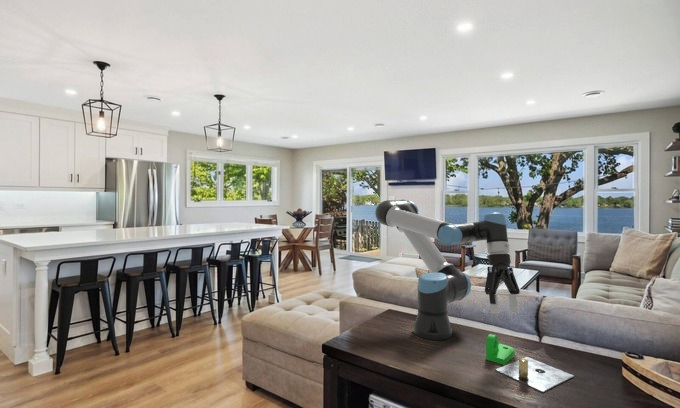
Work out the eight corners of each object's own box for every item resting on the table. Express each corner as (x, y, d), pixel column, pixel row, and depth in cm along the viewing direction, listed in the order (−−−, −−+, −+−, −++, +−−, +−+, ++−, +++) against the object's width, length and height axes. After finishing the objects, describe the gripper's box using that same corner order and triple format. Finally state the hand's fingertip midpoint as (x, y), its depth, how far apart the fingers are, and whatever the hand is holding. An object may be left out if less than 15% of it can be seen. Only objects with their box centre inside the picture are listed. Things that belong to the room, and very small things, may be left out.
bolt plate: (495, 370, 115) (495, 352, 115) (526, 357, 124) (527, 340, 124) (542, 392, 102) (542, 371, 102) (574, 376, 111) (574, 357, 111)
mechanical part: (504, 365, 119) (504, 341, 119) (485, 359, 123) (486, 336, 123) (517, 354, 127) (517, 331, 127) (499, 348, 132) (499, 327, 131)
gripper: (490, 251, 126) (496, 314, 121) (524, 255, 141) (532, 311, 136) (470, 253, 132) (476, 313, 127) (506, 256, 147) (512, 311, 141)
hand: (505, 313), depth 131 cm, fingers open, 13 cm apart
